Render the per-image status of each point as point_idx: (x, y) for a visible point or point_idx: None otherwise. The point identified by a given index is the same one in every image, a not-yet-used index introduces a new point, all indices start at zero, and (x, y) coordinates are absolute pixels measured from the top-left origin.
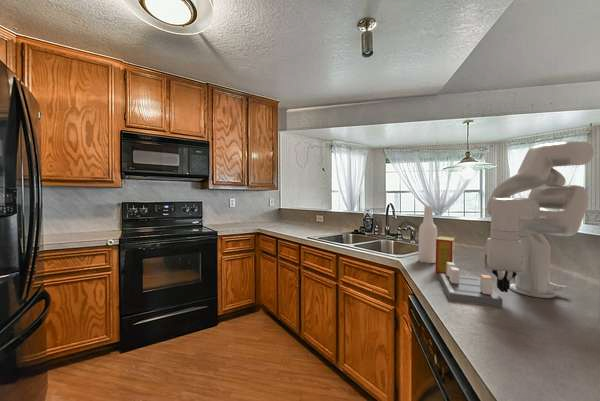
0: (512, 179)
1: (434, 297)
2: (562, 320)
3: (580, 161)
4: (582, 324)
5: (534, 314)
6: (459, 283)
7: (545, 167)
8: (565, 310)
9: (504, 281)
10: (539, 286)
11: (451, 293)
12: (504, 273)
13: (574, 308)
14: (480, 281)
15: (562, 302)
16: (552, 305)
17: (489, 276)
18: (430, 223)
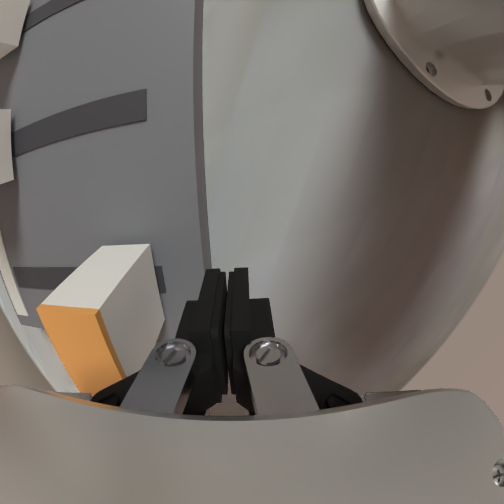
0: None
1: (5, 294)
2: (392, 346)
3: None
4: (425, 346)
5: (327, 339)
6: (20, 144)
7: None
8: (466, 239)
9: (226, 389)
10: (494, 80)
11: (26, 323)
12: (250, 379)
13: (498, 204)
14: (72, 280)
15: (497, 144)
16: (458, 194)
17: (104, 353)
18: None
